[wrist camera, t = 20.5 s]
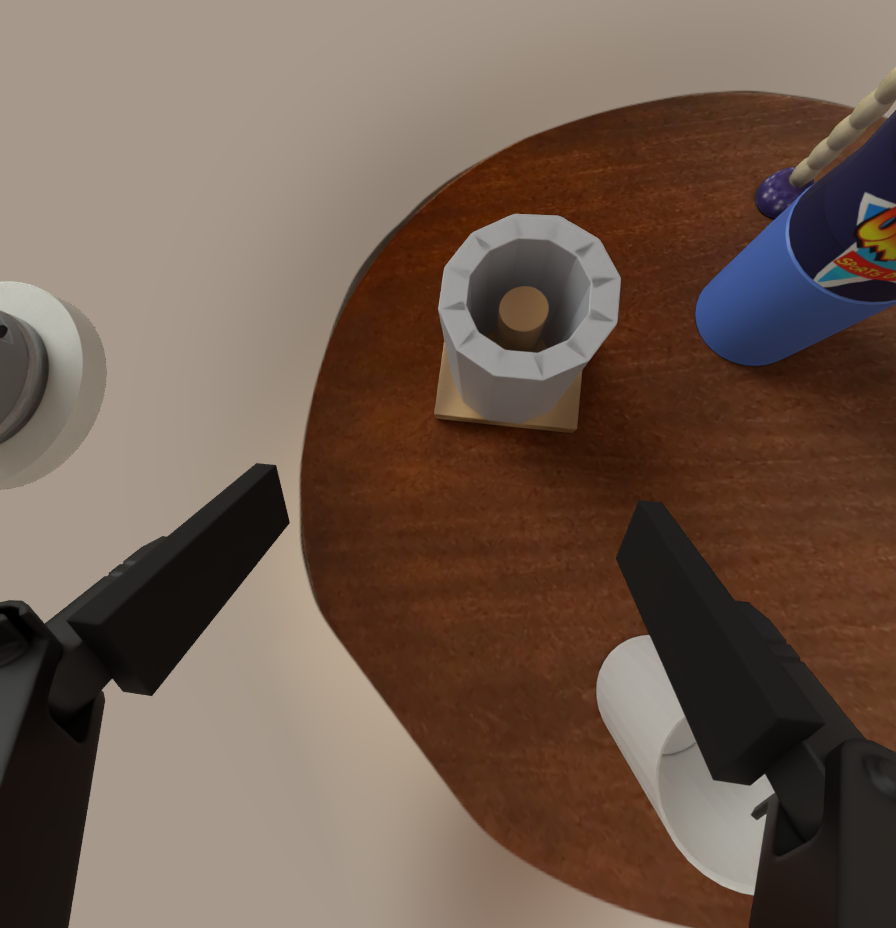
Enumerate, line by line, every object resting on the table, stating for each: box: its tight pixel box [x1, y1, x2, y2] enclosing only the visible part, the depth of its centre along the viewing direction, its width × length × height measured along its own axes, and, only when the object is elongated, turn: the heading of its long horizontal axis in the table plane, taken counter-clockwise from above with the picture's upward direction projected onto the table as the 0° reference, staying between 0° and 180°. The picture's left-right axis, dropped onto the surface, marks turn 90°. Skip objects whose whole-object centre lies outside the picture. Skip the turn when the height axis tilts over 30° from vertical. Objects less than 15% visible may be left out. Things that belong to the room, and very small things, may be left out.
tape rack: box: [434, 286, 582, 433], centre depth 26 cm, size 12×10×10 cm
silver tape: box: [438, 214, 621, 424], centre depth 24 cm, size 10×10×10 cm
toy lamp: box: [755, 67, 896, 219], centre depth 22 cm, size 5×5×17 cm
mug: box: [596, 635, 775, 895], centre depth 22 cm, size 12×9×9 cm
